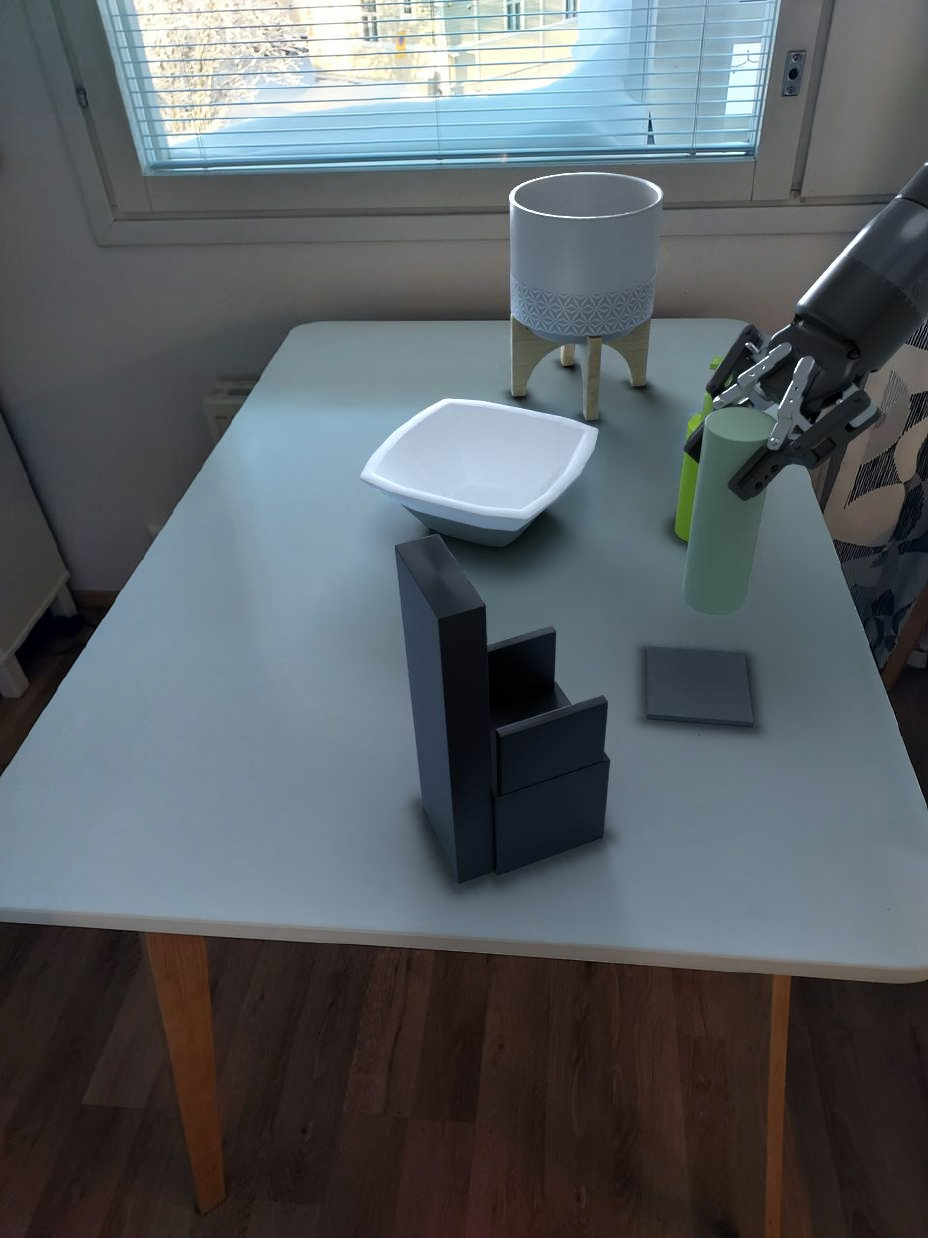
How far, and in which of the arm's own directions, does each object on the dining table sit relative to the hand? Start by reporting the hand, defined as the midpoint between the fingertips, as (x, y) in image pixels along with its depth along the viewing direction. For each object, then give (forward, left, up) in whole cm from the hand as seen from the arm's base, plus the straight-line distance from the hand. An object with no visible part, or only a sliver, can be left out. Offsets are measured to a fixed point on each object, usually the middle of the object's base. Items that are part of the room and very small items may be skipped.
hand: (713, 474), depth 69 cm
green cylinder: (+1, -2, -12) cm, 12 cm away
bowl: (+27, +21, -23) cm, 41 cm away
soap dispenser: (+26, -4, -23) cm, 35 cm away
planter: (+60, +12, -23) cm, 65 cm away
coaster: (+1, -2, -23) cm, 23 cm away
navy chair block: (-16, +14, -23) cm, 31 cm away
